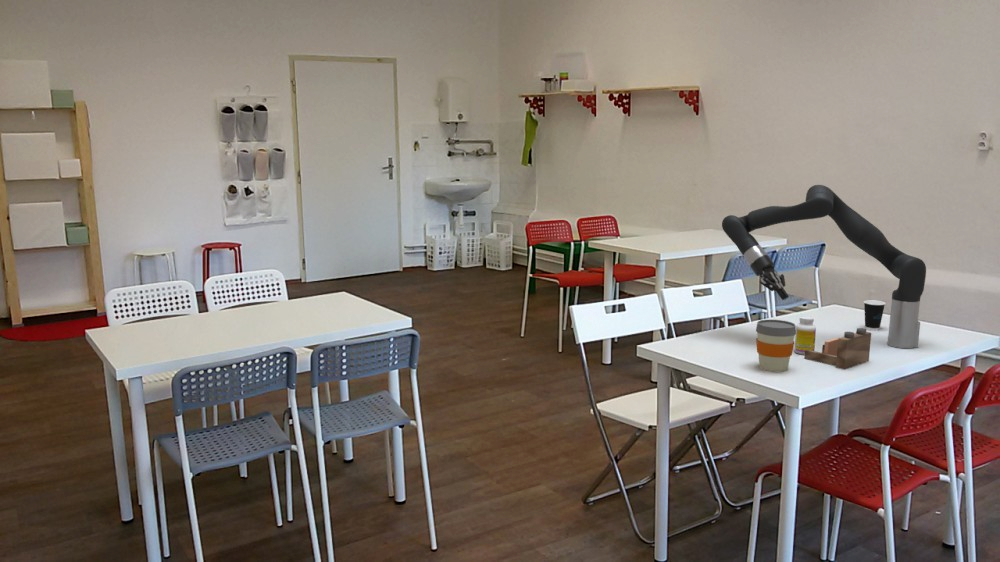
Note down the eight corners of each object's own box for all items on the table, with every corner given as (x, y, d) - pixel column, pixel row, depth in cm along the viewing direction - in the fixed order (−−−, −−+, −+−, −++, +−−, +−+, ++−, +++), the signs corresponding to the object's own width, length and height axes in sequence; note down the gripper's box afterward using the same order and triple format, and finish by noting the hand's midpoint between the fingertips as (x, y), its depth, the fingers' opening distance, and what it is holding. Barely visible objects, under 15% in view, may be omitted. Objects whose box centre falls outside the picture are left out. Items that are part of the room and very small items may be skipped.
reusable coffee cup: (759, 372, 263) (762, 328, 261) (749, 362, 276) (752, 319, 273) (798, 373, 263) (801, 328, 260) (786, 362, 275) (789, 319, 272)
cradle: (801, 359, 279) (804, 326, 277) (826, 351, 289) (829, 319, 287) (844, 369, 267) (847, 335, 265) (868, 361, 277) (871, 328, 275)
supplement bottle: (815, 355, 283) (818, 320, 281) (796, 355, 285) (798, 319, 282) (812, 350, 290) (814, 315, 288) (792, 350, 291) (795, 315, 289)
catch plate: (823, 358, 277) (825, 341, 276) (837, 354, 282) (838, 337, 281) (827, 359, 276) (828, 342, 275) (840, 354, 281) (842, 338, 280)
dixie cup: (865, 325, 328) (867, 299, 326) (886, 329, 322) (888, 302, 320) (858, 329, 322) (860, 302, 320) (879, 332, 317) (881, 305, 315)
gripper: (762, 264, 304) (789, 302, 296) (741, 268, 295) (768, 306, 288) (775, 252, 299) (803, 290, 291) (754, 255, 290) (782, 294, 283)
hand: (785, 298), depth 290 cm, fingers closed
